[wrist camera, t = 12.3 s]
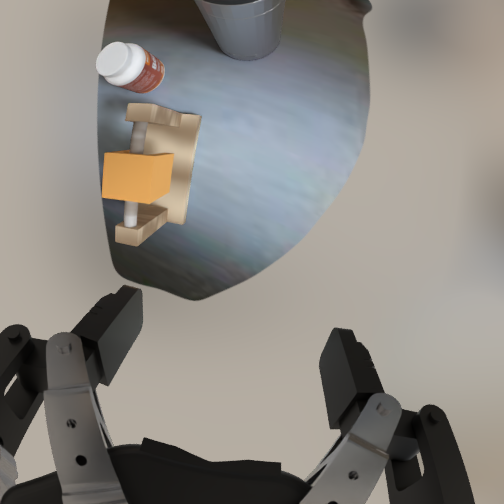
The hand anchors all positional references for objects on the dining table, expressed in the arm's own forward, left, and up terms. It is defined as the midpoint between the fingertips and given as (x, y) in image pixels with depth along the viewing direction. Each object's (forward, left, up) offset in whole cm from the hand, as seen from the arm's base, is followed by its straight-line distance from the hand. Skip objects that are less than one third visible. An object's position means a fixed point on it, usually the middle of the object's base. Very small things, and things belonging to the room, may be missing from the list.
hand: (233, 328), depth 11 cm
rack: (-2, -14, -30) cm, 33 cm away
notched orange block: (-2, -14, -24) cm, 28 cm away
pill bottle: (-16, -20, -30) cm, 40 cm away
